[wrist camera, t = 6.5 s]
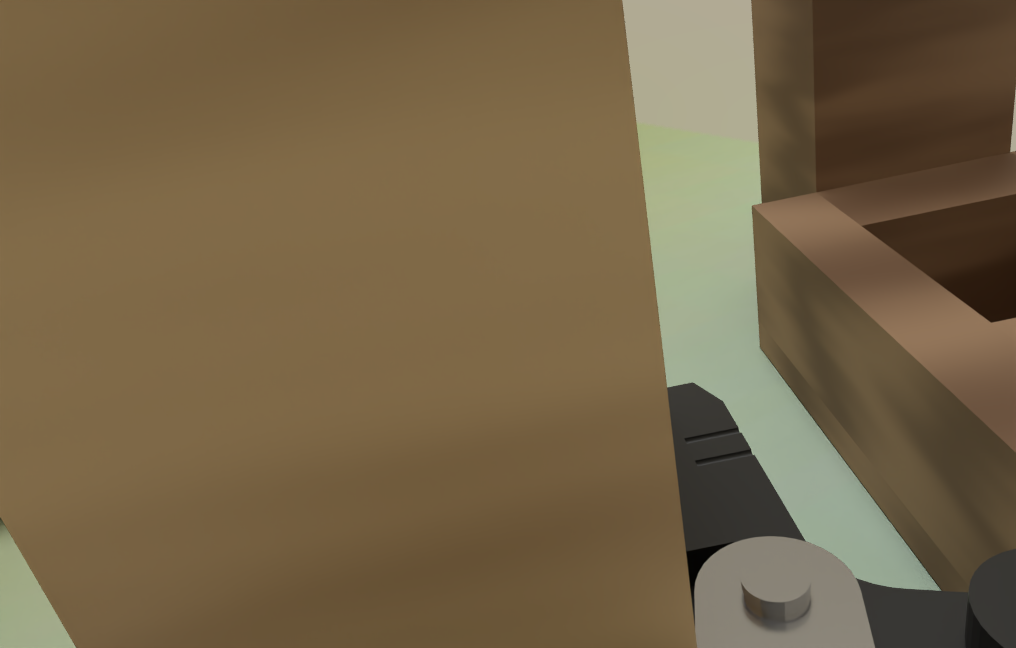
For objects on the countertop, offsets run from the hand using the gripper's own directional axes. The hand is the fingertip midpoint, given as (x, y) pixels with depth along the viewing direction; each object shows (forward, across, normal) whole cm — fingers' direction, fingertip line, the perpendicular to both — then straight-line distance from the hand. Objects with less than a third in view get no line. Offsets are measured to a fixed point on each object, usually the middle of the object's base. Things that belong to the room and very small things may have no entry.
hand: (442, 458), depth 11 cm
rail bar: (-3, 0, +8) cm, 9 cm away
